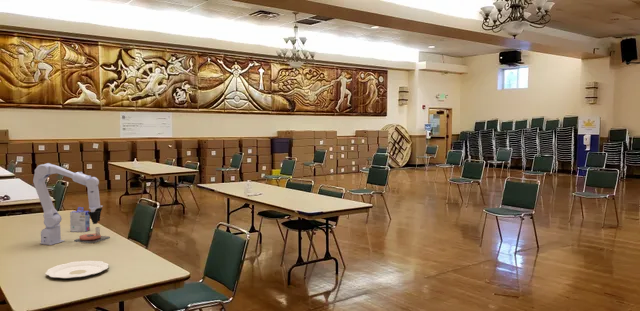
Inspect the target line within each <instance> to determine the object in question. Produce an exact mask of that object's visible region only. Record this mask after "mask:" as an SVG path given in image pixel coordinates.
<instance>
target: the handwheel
mask: <svg viewBox="0 0 640 311" xmlns="http://www.w3.org/2000/svg"><path fill="white" fill-rule="evenodd" d="M100 230H101V227H100V226H95V233H87V234H81V235H80V236H78V239H80V240H94V239H98V238H101V236H102V234H101V231H100Z"/></svg>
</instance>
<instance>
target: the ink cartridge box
mask: <svg viewBox="0 0 640 311" xmlns="http://www.w3.org/2000/svg"><path fill="white" fill-rule="evenodd" d="M88 212H90V211H89V210H84V207H83V206H82V207H81V206H78V207H77V210H73V211H70V212H69V222H70V223H69V226H70V229H69V230H70V232H76V233H77V232H78V233H79V232H81V233H82V232H85V233H86V232H89V231H90V230H91V227H90V226H91V225H90V224H91V222H90V221H91V217H90V215H89V214H88ZM88 230H89V231H88Z"/></svg>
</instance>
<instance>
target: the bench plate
mask: <svg viewBox="0 0 640 311" xmlns="http://www.w3.org/2000/svg"><path fill="white" fill-rule="evenodd" d="M110 238H111V237H110V236H107V235H101V238H98V239H94V240H80V239H79V238H76V239H74V240H73V241H74V242H78V243H88V244H95V243H98V242H100V241H102V242H103V241H105V240H107V239H110Z"/></svg>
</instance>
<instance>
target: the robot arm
mask: <svg viewBox="0 0 640 311" xmlns="http://www.w3.org/2000/svg"><path fill="white" fill-rule="evenodd" d="M53 174H55V175H57V174H58V175H61V176H64V177H67V178H71V179H72V182H75V183H78V184H80V185H83V186H85V187H86V188H87V198H88V209H89V210H90V211H89V212H88V214H89V215H90V220H91V222H92V225H97V224H98V222H100V220H101V213H102V210H103V206H104V205H101V199H100V189H99V184H100V179H99V178H97V177H96V176H92V175H88V174H85V173H83V171H77V172H73V171H71V170H69V169H67V168H64V167H62V166H59V165H56V164H52V163H50V162H47V163H44V164H43V163H42V164H38V165H37V166H36V168H35V169H34V174H33V180H32V182H33V185H34V188H35V191H36V193H37V197H38V199H39V201H40V205H41V206H42V210H43V225H44V226H45V227H44V228H43V229H41V231H40V243H39V244H40V245H45V246H46V245H48V246H52V245H56V244H59V243H63V242H65V241H66V240H64V239H61V238H62V235H61V234H62V233H61V222H62V219H63V218H62V216H61V215H60V214H59V212H58V210H57V209H56V208H55V206H54V203H53V201H52V200H53V199H52V198H51V195H50V193H49V189H48V187H47V184H46V180H47V179H48V177H49V176H50V175H53Z"/></svg>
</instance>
